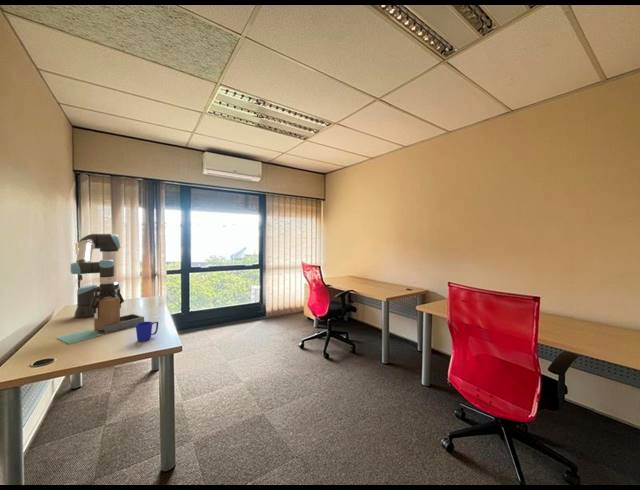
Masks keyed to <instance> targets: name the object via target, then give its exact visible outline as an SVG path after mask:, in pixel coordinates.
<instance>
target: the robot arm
mask: <svg viewBox="0 0 640 490" xmlns="http://www.w3.org/2000/svg"><path fill="white" fill-rule="evenodd" d="M77 249H78V251H77V255H76V261H75V262H72V263H70V273H71V275H85V274H86V275H87V274H89V275H90V274H99V285H97V284H90V285H85V286H81V287H80V286H79V288H78V289H77V291H76V295H77V297H76V299H77V301H76V303H77V304H76V305H77V306H76V309H75V312H74V318H75V319H85V318H92V317H94V318H96V319H97V318H98V308H96V307H97V306H98V305H99V301H100V300H101V299H103V298H104V297H105V298H106V297H119V298H120V309H121V308H122V304H123V303H124V302H125V300H124V298H123V296H122V293H121V287H122V286H121V284H119V282H118V281H117V252H119V250H120V249H121V241H120V236H119V235H118V234H117V233H116V234H114V233H91V234H87V235H85V236H83V237H82V238H81V239H79V241H78V243H77ZM94 249H95V250H98V249H99V252H100V253H102V254H101V255H102V259H100V260H99V261H94V262H93V261H92V257H93V250H94ZM96 299H98V300H99V301H97V302H96V303H95V301H96ZM94 303H95V304H94ZM94 318H93V319H94Z"/></svg>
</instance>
